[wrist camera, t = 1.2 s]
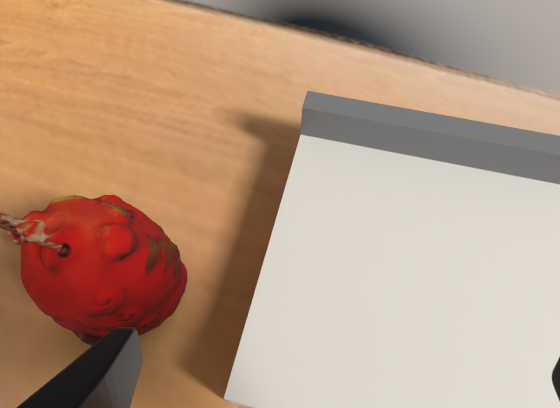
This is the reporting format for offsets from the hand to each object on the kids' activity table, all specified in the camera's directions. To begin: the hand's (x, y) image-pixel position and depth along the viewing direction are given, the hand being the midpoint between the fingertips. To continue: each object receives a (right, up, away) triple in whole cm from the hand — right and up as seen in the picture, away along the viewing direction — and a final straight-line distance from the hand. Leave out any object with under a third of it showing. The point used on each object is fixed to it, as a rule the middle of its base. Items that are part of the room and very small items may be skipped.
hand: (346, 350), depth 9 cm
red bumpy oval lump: (-11, -3, +16) cm, 19 cm away
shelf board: (+7, -2, +16) cm, 18 cm away
